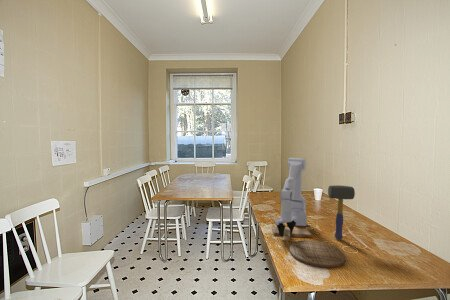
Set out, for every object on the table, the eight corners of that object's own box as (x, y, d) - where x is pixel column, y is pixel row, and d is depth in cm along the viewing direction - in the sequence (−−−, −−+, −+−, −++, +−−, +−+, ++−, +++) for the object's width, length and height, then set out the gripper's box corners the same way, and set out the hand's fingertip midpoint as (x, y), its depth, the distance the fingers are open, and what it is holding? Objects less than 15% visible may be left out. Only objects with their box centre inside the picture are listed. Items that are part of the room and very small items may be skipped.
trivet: (353, 272, 104) (353, 267, 103) (292, 265, 108) (292, 261, 107) (336, 246, 128) (336, 242, 128) (287, 241, 132) (287, 238, 132)
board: (307, 231, 147) (307, 228, 147) (311, 237, 138) (311, 234, 138) (271, 229, 148) (271, 226, 148) (273, 235, 139) (273, 232, 139)
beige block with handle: (285, 231, 146) (286, 222, 146) (290, 241, 132) (290, 231, 132) (279, 231, 146) (280, 222, 146) (283, 240, 133) (284, 230, 132)
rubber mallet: (328, 241, 134) (331, 186, 132) (324, 235, 141) (327, 183, 140) (352, 243, 132) (356, 187, 130) (347, 237, 140) (350, 184, 138)
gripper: (290, 207, 142) (289, 230, 143) (271, 210, 135) (270, 235, 136) (300, 210, 136) (299, 234, 137) (280, 214, 129) (279, 240, 130)
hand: (285, 235), depth 136 cm, fingers closed on beige block with handle, 6 cm apart
